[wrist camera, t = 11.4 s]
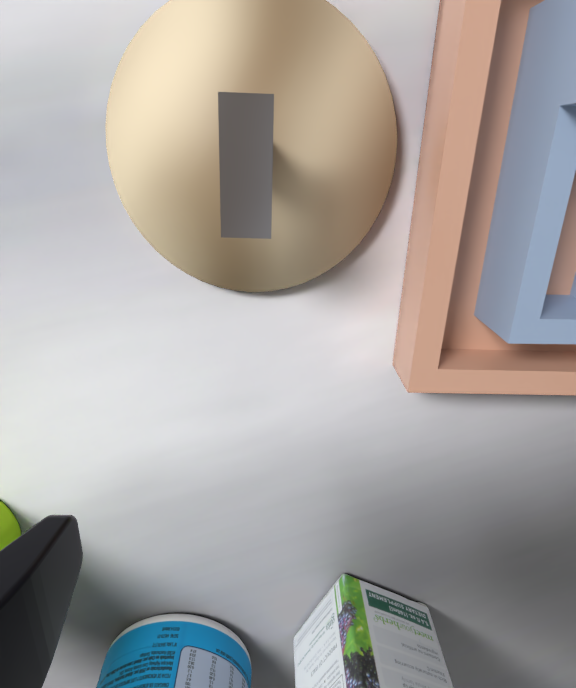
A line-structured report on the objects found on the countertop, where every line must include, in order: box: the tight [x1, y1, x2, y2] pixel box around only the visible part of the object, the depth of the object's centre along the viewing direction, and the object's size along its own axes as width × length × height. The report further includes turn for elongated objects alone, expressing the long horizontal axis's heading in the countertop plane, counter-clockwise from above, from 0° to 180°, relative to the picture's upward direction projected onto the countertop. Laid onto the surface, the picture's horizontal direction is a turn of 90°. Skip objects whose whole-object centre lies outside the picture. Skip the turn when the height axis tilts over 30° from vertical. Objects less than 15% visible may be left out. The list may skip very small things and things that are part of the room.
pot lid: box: [106, 0, 397, 292], centre depth 15 cm, size 10×10×5 cm
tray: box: [393, 0, 576, 395], centre depth 16 cm, size 10×15×2 cm, turn 178°
